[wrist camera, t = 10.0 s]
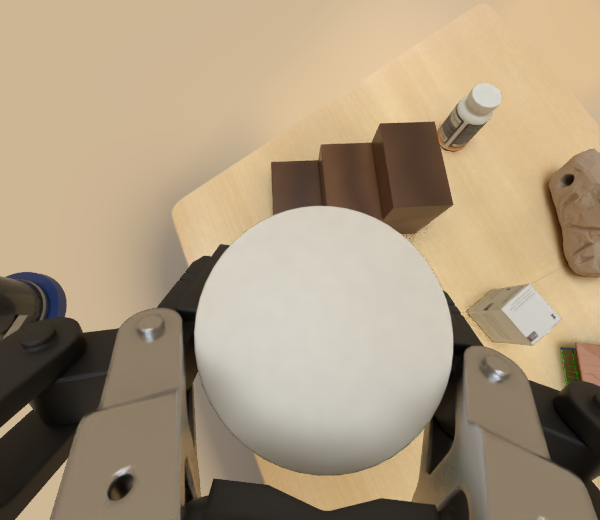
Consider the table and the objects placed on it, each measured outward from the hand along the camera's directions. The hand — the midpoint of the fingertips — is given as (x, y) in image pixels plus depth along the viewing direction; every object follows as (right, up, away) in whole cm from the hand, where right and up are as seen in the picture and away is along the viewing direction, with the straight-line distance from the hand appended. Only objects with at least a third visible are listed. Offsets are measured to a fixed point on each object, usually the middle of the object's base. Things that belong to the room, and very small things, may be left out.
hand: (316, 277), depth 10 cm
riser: (+7, +11, +36) cm, 38 cm away
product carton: (+30, -8, +32) cm, 45 cm away
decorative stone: (+47, +7, +37) cm, 60 cm away
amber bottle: (0, -3, +6) cm, 7 cm away
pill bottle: (+28, +24, +40) cm, 54 cm away
